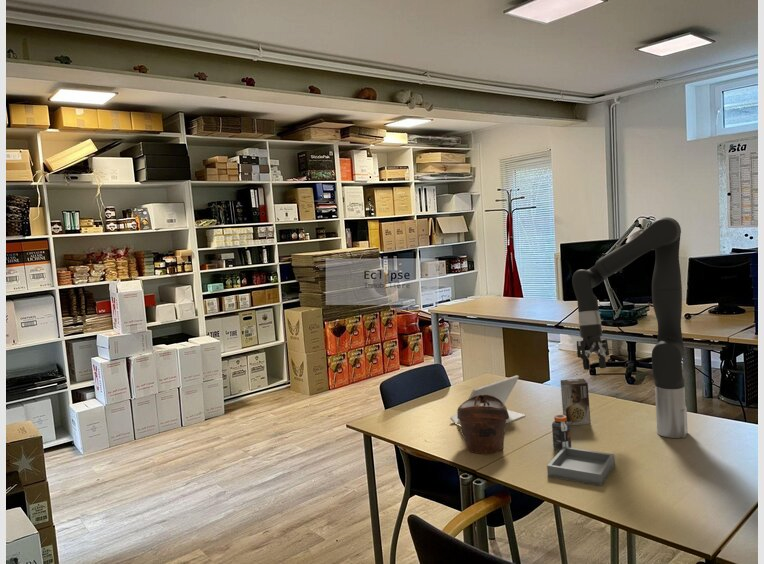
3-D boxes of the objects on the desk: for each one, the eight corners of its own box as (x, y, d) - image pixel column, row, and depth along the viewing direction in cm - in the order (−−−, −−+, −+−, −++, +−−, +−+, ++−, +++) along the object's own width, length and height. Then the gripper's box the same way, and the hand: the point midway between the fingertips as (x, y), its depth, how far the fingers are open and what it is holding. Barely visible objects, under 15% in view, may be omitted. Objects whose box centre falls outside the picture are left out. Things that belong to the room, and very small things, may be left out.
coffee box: (586, 418, 223) (584, 378, 222) (591, 424, 217) (588, 382, 216) (562, 419, 224) (560, 379, 223) (566, 425, 218) (563, 384, 217)
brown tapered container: (491, 432, 218) (487, 386, 216) (522, 450, 199) (518, 400, 197) (449, 443, 212) (445, 396, 210) (477, 462, 193) (472, 411, 191)
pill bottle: (572, 451, 195) (570, 418, 193) (554, 451, 196) (552, 419, 195) (570, 444, 200) (568, 412, 199) (552, 444, 202) (550, 413, 200)
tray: (615, 464, 181) (614, 454, 181) (601, 486, 168) (600, 474, 168) (564, 456, 191) (563, 446, 190) (547, 476, 178) (547, 465, 177)
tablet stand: (526, 416, 232) (523, 375, 231) (481, 434, 218) (478, 390, 217) (493, 407, 247) (490, 369, 246) (449, 423, 233) (446, 382, 231)
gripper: (585, 323, 203) (590, 370, 201) (611, 322, 210) (616, 367, 208) (568, 325, 209) (573, 370, 207) (594, 324, 216) (599, 367, 214)
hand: (595, 368), depth 207 cm, fingers open, 8 cm apart
